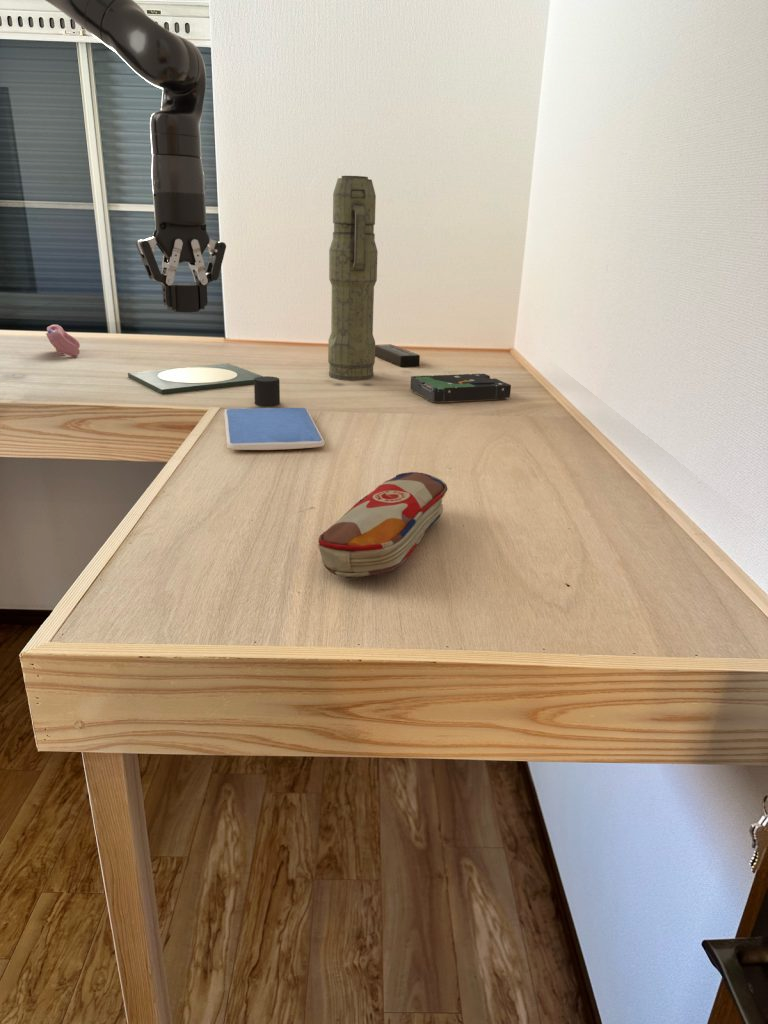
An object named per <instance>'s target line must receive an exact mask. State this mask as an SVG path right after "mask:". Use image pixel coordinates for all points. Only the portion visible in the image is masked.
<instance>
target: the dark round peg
mask: <svg viewBox="0 0 768 1024" xmlns="http://www.w3.org/2000/svg"><path fill="white" fill-rule="evenodd" d="M173 286H175V291H176V307H177V309H176V311H174V312H177V313H198V312H200V310H199V295H198V285H197V284H196V283H187V282H185V283H184V282H179V283H177V282H175V283H173Z"/></svg>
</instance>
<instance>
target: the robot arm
mask: <svg viewBox="0 0 768 1024" xmlns="http://www.w3.org/2000/svg"><path fill="white" fill-rule="evenodd" d="M45 1H46V2H47V3H48V4H51V6H53V7H54V8H56V9H58V10H59V11H60V12H61V13H63V14H64V15H66V16H67V17H68V18H70V19H71V20H72V21H74V22H75V23H76V24H78V26H80V27H81V28H83V29H84V30H85V31H86V32H87V33H89V34H90V35H92V36H93V37H94V38H95V39H97V40H98V41H99V42H101V44H103V45H105V46H106V47H107V48H109V49H110V50H111V51H113V52H115V53H116V54H117V55H118V56H119V58H121V60H122V61H123V62H125V63H126V64H127V66H129V68H130V69H132V71H134V72H135V73H136V74H137V75H138V76H139V77H141V79H144V80H145V82H147V83H149V84H151V85H152V86H154V87H156V88H159V89H161V90H162V95H161V106H160V107H161V108H160V109H158V110H156V111H155V112H153V113H152V114H151V117H150V120H149V121H150V122H149V125H150V126H149V129H150V131H149V132H150V145H151V155H152V156H151V185H152V186H151V187H152V198H153V200H152V201H153V213H154V214H153V215H154V225H155V228H154V232H153V234H152V237H151V236H150V237H148V238H145V239H138V240H137V241H136V242H135V245H136V249H137V251H138V253H139V256H140V259H141V261H142V263H143V266H144V269H145V271H146V274H147V276H148V279H149V280H151V281H155V282H157V283H160V285H161V289H162V301H163V302H162V303H163V305H164V307H166V308H167V310H168V311H170V312H172V311H173V312H175V311H176V309H177V307H176V291H175V286H173V284H175V283H174V282H175V277H176V272H177V270H178V267H179V264H182V263H187V264H188V267H189V269H190V271H191V273H192V277H193V280H194V282H195V284H197V285H198V295H199V311H203V310H205V309H206V307H207V306H208V301H209V300H208V284H210V283H211V282H213V281H217V280H218V279H219V276H220V272H221V268H222V266H223V260H224V257H225V253H226V249H227V244H226V243H225V242H223V241H218V240H214V239H213V238H211V237H210V235H209V234H208V232H207V206H206V205H207V204H206V183H205V173H204V166H203V159H202V157H203V156H202V155H203V154H202V137H201V122H202V118H203V113H204V107H205V105H204V104H205V97H206V91H207V70H206V65H205V61H204V58H203V55H202V53H201V51H200V50H199V48H198V47H197V46H196V45H195V44H194V43H193V42H192V41H190V40H188V39H186V38H184V37H181V36H179V35H178V34H176V33H174V32H172V31H169V30H168V29H166V28H165V27H163V26H162V25H161V24H160V23H157V22H156V21H154V19H152V18H151V17H149V16H148V15H147V14H146V12H145V11H144V9H143V8H142V7H141V6H140V5H139V4H138V3H137V2H135V0H45ZM156 247H158V249H159V250H160V253H162V255H163V256H162V261H161V268H162V269H161V270H160V268H159V264H158V263H157V260H156V258H155V255H154V254H155V253H156ZM206 249H208V250H207V251H208V253H209V257H208V261H207V265H205V261H204V258H203V254H204V252H205V250H206Z"/></svg>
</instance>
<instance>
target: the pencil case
mask: <svg viewBox="0 0 768 1024" xmlns="http://www.w3.org/2000/svg"><path fill="white" fill-rule="evenodd" d="M448 488H449V487H448V485H447V483H446V482H445V481H443V480H442V479H440V478H439V477H436V476H434V475H431V474H429V473H424V472H418V471H410V472H401V473H399V474H396V475H395V476H394V477H393V478H390V479H388V480H385V481H384V482H382V483H381V484H379V485H378V486H377V487H376V488H375V489H374V490H372V491H371V492H369V493H367V494H366V495H365V496H364V497H363V498H361V499H360V500H358V501H357V502H356V503H355V504H354V505H353V506H352V507H351V508H350V509H349V510H348V511H346V512H345V513H344V515H342V517H340V518H339V519H338V520H337V521H336V522H335V523H333V524H332V525H331V526H330V527H328V529H326V530H325V531H324V532H322V533H321V534H320V535H319V536H318V549H319V553H320V556H321V563H322V564H323V565H322V566H323V567H324V568H325V569H326V570H327V571H328V572H330V573H331V574H333V575H335V576H337V577H344V578H346V579H348V580H349V579H350V580H351V579H357V578H363V577H368V576H373V575H379V574H384V573H388V572H391V571H393V570H396V569H398V568H401V567H402V566H403V565H404V564H405V562H406V561H407V560H408V559H409V558H410V556H411V555H412V553H413V551H414V550H415V548H416V547H417V545H418V544H419V543H420V542H421V540H422V539H423V537H424V536H425V534H426V533H427V531H428V530H429V529H430V528H431V526H432V525H433V524H435V522H437V521H438V520H439V518H440V517H441V515H442V514H443V512H444V505H443V499H444V497H445V495H446V493H447V492H448Z"/></svg>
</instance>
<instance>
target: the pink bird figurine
mask: <svg viewBox="0 0 768 1024" xmlns="http://www.w3.org/2000/svg"><path fill="white" fill-rule="evenodd" d="M46 331H47V332H46V333H45V335H46V337H47V339H48V341H49V343H50V344H51V345H52V346H53V347H54V349H55V351H56V352H57V353H59V354H60V355H64V354H65V355H67V356H71V357H78V356H79V355H80V346H81V344H80V341H78V339H76V337H74V336H72V335H71V334H69V333H68V332H66V331H65V330H64V328H63V327H62V326H61V325H59V324H51V325H49V326H47V327H46Z"/></svg>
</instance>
